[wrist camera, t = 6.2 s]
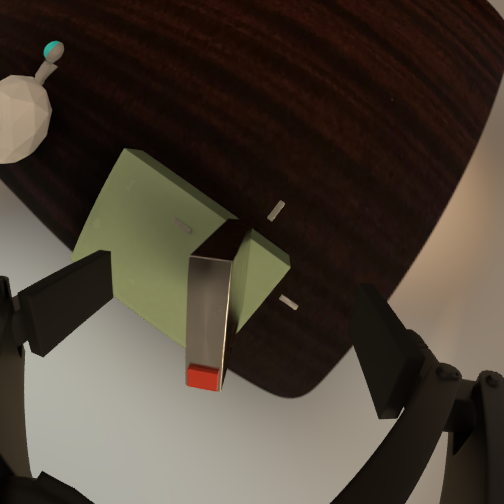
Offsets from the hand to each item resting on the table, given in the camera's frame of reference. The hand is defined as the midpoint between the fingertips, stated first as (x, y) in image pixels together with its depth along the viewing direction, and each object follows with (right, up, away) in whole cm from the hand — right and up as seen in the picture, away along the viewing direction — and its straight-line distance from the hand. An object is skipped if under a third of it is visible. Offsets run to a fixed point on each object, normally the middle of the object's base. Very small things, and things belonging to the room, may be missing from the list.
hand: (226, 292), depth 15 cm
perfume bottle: (-18, +16, +6) cm, 25 cm away
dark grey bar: (0, +1, +5) cm, 5 cm away
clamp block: (-3, +3, +8) cm, 9 cm away
